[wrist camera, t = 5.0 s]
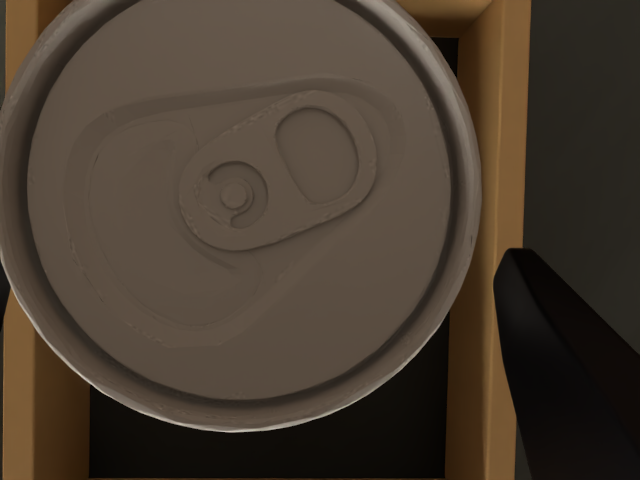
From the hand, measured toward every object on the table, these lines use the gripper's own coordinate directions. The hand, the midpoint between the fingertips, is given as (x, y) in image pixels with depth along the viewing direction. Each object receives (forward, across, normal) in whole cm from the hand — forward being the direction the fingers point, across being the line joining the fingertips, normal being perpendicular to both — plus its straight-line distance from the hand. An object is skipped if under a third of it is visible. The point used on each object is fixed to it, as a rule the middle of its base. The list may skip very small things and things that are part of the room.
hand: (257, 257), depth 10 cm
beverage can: (+7, 0, +6) cm, 9 cm away
